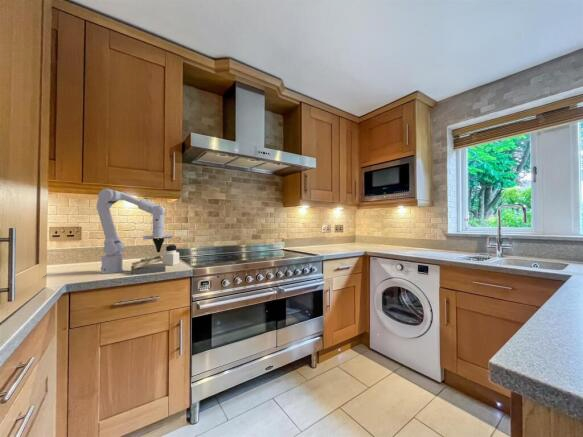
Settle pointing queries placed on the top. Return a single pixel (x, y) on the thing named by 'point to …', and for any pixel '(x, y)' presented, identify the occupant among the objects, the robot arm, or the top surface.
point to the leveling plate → (147, 261)
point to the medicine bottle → (170, 256)
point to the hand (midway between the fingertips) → (158, 252)
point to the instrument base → (148, 269)
